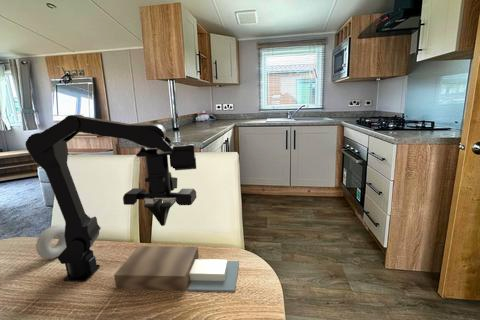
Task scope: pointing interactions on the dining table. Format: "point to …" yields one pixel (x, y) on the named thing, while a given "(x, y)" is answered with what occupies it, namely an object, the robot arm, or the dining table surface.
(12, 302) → the dining table surface
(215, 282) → the mat
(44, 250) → the donut
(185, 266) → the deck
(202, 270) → the white rectangular block
